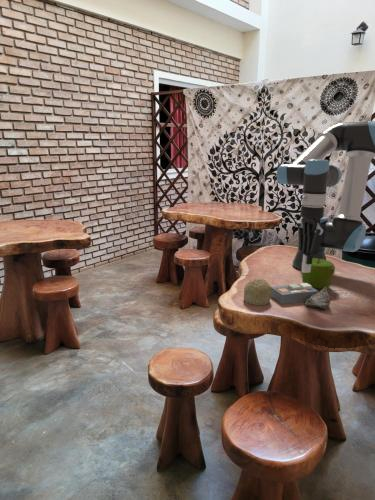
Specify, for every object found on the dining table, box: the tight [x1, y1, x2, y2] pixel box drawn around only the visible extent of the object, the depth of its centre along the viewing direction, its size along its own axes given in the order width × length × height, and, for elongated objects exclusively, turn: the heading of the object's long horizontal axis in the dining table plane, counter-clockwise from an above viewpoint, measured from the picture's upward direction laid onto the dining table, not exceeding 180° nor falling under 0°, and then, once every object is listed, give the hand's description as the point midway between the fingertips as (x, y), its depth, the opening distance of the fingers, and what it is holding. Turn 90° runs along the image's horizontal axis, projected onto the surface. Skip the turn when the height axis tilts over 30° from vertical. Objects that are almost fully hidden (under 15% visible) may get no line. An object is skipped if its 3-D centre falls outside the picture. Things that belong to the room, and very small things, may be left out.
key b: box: [287, 283, 301, 291], centre depth 129 cm, size 3×3×2 cm
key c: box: [277, 288, 290, 293], centre depth 128 cm, size 3×3×2 cm
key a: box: [298, 282, 312, 290], centre depth 130 cm, size 3×3×2 cm
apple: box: [300, 258, 336, 290], centre depth 140 cm, size 12×12×11 cm
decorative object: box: [243, 278, 272, 306], centre depth 126 cm, size 9×10×10 cm
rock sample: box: [304, 287, 331, 310], centre depth 123 cm, size 10×8×9 cm
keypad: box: [271, 283, 319, 305], centre depth 130 cm, size 14×8×4 cm, turn 106°
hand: (305, 272), depth 129 cm, fingers closed
